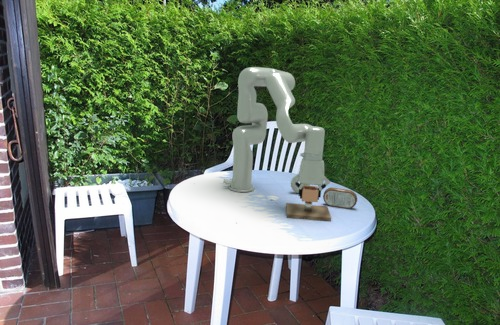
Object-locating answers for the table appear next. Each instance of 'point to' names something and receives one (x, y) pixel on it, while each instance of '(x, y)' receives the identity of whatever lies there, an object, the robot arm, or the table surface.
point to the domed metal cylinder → (308, 206)
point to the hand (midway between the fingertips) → (309, 197)
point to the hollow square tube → (310, 193)
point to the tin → (340, 198)
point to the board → (315, 214)
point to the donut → (296, 186)
